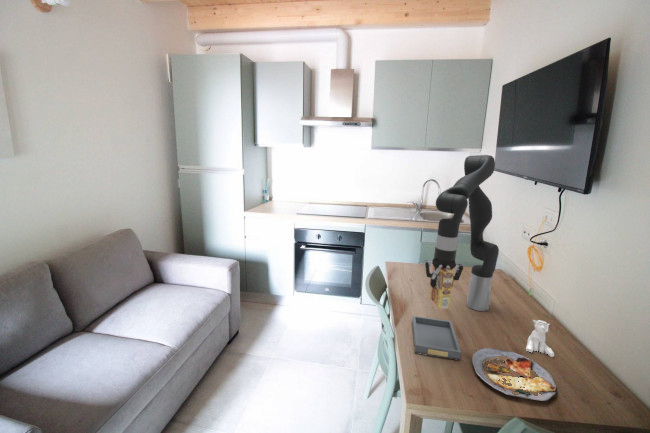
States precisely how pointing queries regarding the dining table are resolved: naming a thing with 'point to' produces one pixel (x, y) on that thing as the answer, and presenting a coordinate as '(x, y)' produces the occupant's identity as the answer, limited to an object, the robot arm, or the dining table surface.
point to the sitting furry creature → (539, 339)
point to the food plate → (521, 367)
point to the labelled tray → (435, 337)
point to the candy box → (442, 288)
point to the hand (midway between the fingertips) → (440, 287)
